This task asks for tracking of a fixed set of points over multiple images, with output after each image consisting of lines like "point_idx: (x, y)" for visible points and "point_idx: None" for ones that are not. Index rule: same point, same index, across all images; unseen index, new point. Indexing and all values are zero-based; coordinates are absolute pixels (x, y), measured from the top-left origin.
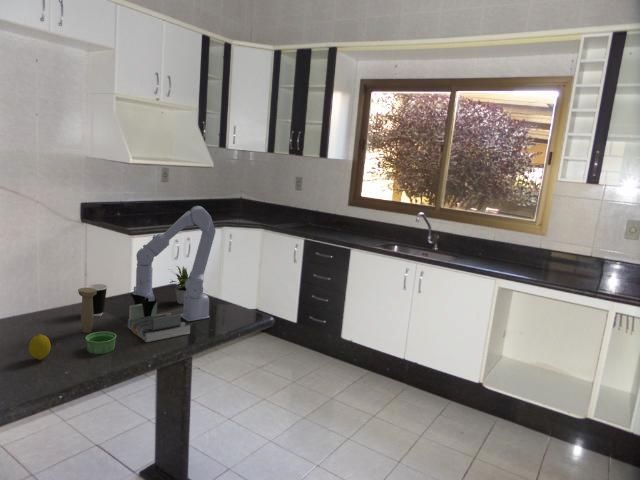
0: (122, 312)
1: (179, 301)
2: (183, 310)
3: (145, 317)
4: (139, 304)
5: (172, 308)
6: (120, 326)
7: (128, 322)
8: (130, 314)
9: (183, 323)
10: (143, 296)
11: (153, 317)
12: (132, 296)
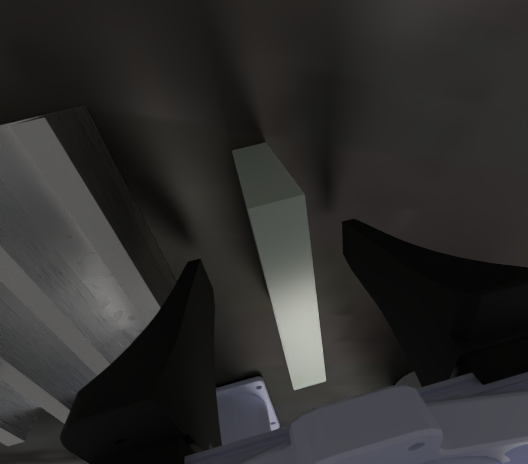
0: (462, 119)
1: (415, 383)
2: (232, 426)
3: (118, 276)
4: (306, 290)
5: (369, 354)
6: (120, 34)
7: (47, 115)
8: (248, 167)
9: (1, 437)
10: (419, 360)
11: (147, 315)
12: (474, 280)
